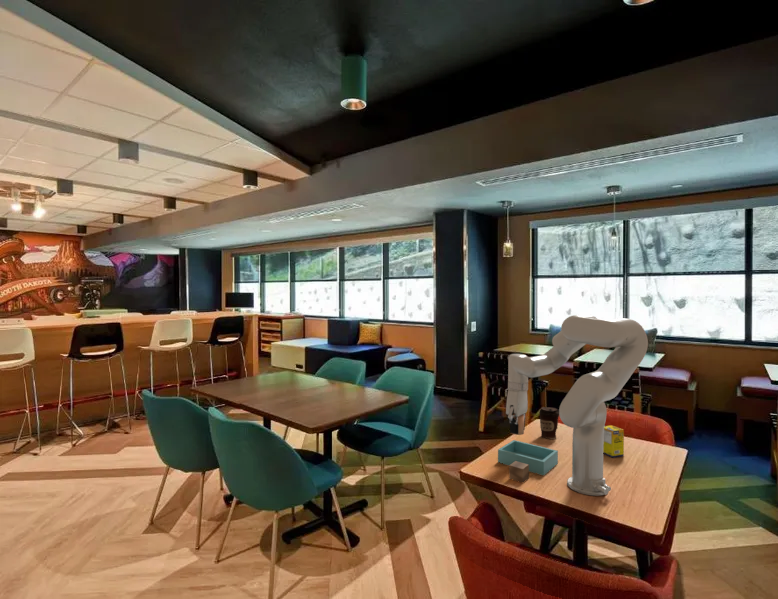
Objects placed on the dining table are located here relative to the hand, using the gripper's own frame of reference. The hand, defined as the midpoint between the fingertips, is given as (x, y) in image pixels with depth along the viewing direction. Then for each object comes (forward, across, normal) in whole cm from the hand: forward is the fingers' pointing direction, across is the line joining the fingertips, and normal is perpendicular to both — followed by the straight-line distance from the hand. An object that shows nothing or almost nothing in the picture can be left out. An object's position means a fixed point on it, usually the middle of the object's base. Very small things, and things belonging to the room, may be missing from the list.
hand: (517, 431), depth 166 cm
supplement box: (+12, -30, +27) cm, 42 cm away
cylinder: (+1, 0, 0) cm, 1 cm away
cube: (+12, +15, +8) cm, 20 cm away
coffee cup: (+12, -34, 0) cm, 36 cm away
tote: (+11, 0, +4) cm, 12 cm away
